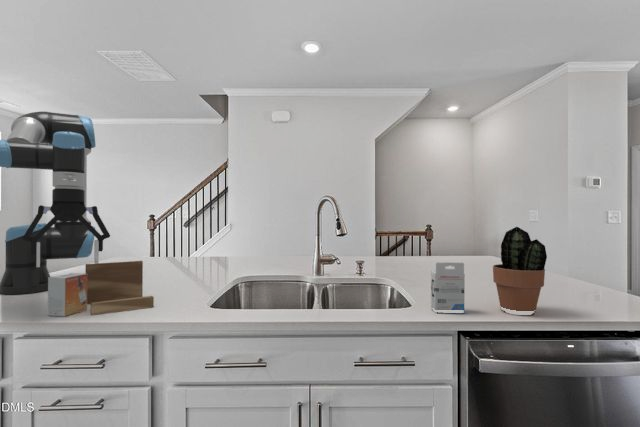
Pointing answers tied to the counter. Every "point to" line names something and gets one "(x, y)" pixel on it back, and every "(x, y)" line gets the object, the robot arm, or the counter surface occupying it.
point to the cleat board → (116, 287)
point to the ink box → (448, 287)
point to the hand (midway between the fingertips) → (68, 264)
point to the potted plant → (520, 271)
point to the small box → (67, 294)
